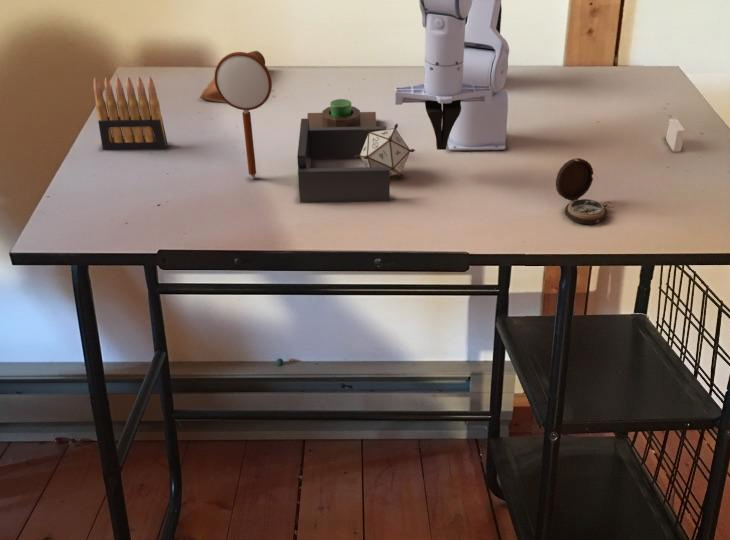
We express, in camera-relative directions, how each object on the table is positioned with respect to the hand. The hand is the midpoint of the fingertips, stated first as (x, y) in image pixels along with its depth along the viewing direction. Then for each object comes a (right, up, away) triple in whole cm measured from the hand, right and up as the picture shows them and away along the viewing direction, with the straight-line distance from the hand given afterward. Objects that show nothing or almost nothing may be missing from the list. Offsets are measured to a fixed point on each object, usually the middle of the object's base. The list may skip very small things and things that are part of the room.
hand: (441, 147), depth 146 cm
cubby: (-15, -4, +3) cm, 16 cm away
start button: (-16, +10, +15) cm, 24 cm away
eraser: (+40, +3, +12) cm, 42 cm away
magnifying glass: (-30, -5, +3) cm, 30 cm away
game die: (-9, -4, +3) cm, 10 cm away
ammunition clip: (-51, +3, +12) cm, 53 cm away
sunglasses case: (-38, +21, +34) cm, 55 cm away
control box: (-16, +7, +17) cm, 25 cm away
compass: (+22, -12, -7) cm, 25 cm away
